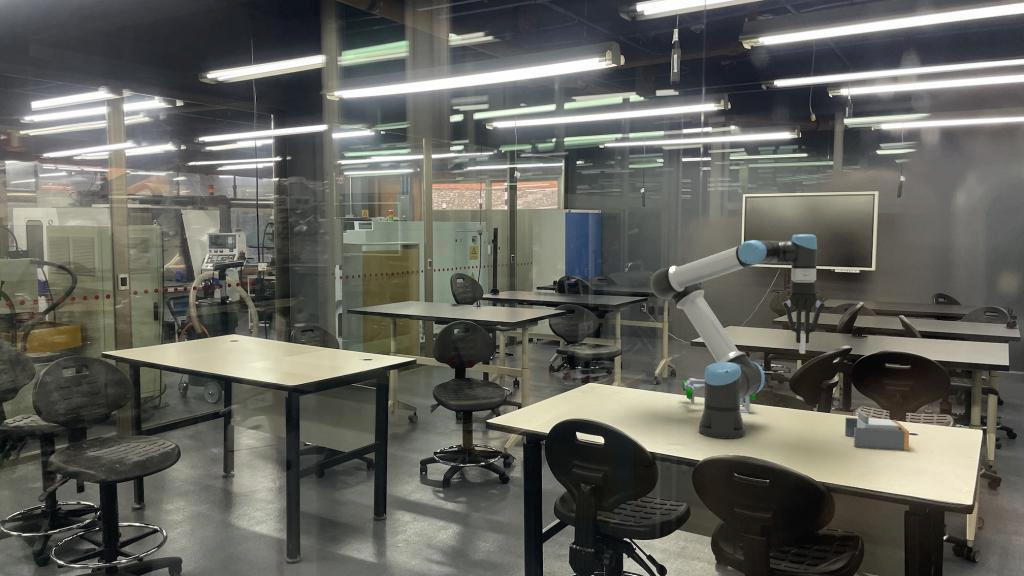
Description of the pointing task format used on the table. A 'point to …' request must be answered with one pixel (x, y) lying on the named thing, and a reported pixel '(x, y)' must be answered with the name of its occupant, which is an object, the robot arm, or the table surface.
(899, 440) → the bay
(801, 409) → the table surface
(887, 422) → the white chamfered box
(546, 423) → the table surface
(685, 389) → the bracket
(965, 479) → the table surface
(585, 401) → the table surface
